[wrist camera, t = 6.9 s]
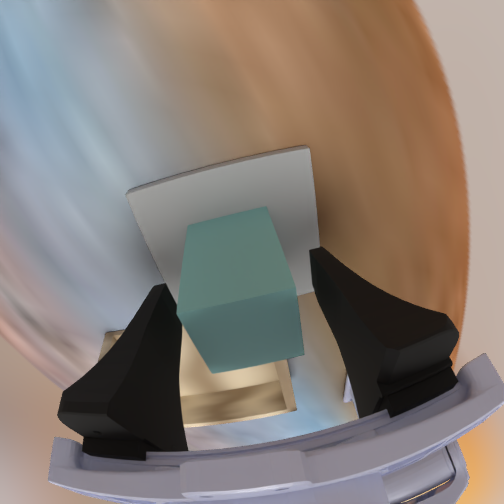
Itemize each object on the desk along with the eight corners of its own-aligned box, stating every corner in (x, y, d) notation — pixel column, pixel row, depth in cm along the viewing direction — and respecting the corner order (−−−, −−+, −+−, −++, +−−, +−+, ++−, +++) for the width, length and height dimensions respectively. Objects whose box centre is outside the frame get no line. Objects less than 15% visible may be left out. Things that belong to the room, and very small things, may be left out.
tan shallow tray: (272, 300, 18) (283, 342, 16) (289, 378, 25) (297, 410, 22) (105, 332, 19) (95, 370, 16) (164, 398, 25) (162, 428, 22)
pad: (305, 145, 13) (309, 148, 12) (319, 283, 18) (322, 289, 18) (128, 190, 13) (125, 194, 13) (185, 313, 18) (184, 320, 18)
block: (266, 206, 14) (296, 287, 9) (278, 268, 16) (304, 354, 11) (187, 225, 14) (176, 313, 9) (209, 284, 16) (212, 373, 11)
